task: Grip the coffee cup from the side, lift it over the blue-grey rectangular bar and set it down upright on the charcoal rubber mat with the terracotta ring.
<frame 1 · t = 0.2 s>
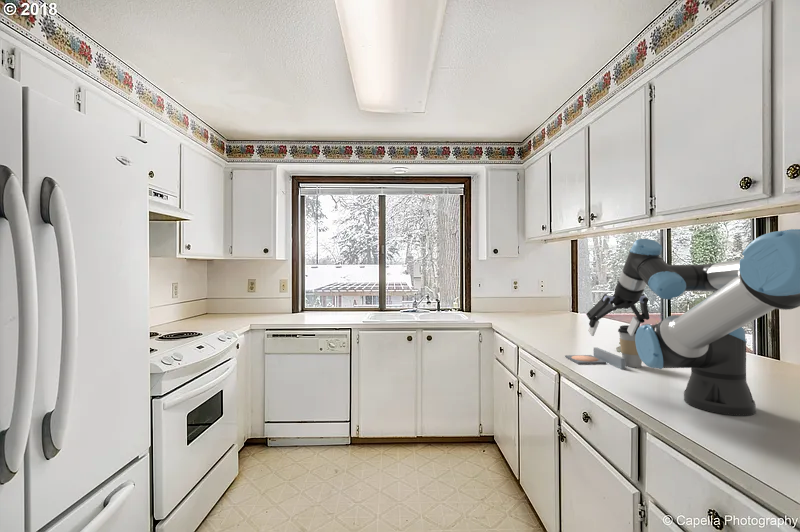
hand: (610, 333, 134), 15 cm above the worktop, tool tilted 35°, fingers open, 13 cm apart
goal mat: (584, 360, 157), on the worktop
toy dinosaur: (623, 349, 180), on the worktop
blue-grey rectangular bar: (608, 362, 153), on the worktop
coffee cup: (632, 366, 148), on the worktop
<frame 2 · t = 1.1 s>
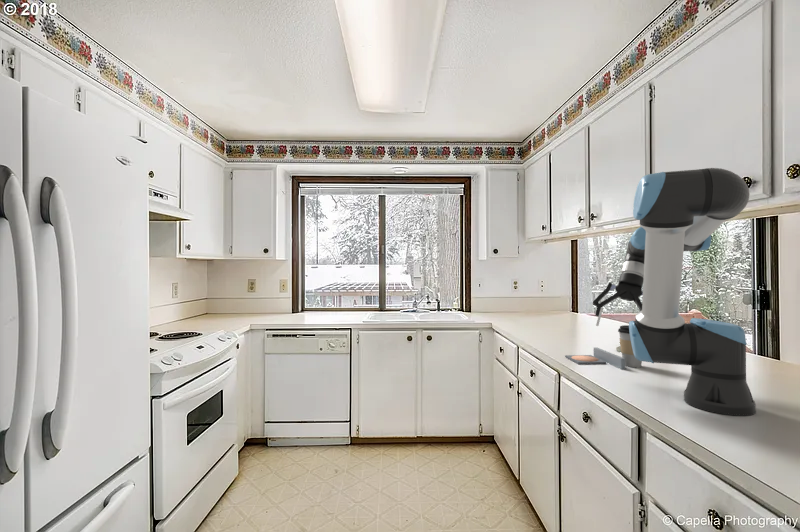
hand: (618, 331, 136), 15 cm above the worktop, tool tilted 25°, fingers open, 13 cm apart
nothing on the worktop moved.
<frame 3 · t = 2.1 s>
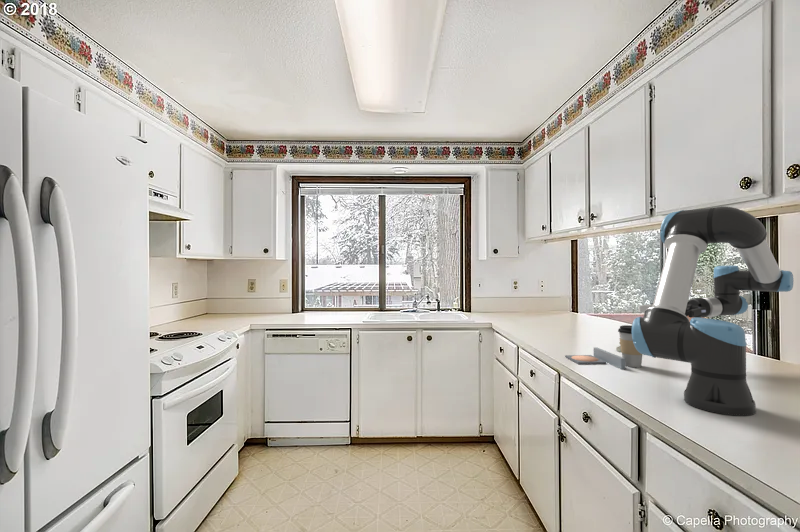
hand: (651, 311, 148), 21 cm above the worktop, tool horizontal, fingers open, 13 cm apart
nothing on the worktop moved.
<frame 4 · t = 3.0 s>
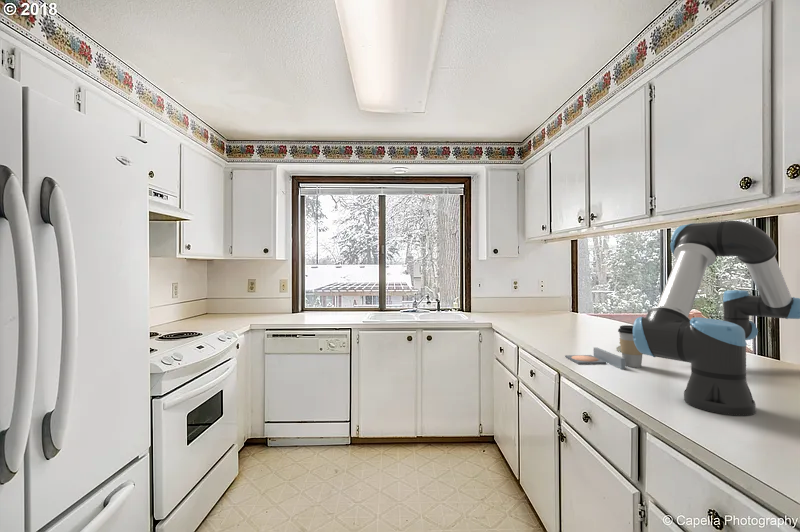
hand: (657, 332, 149), 13 cm above the worktop, tool horizontal, fingers open, 13 cm apart
nothing on the worktop moved.
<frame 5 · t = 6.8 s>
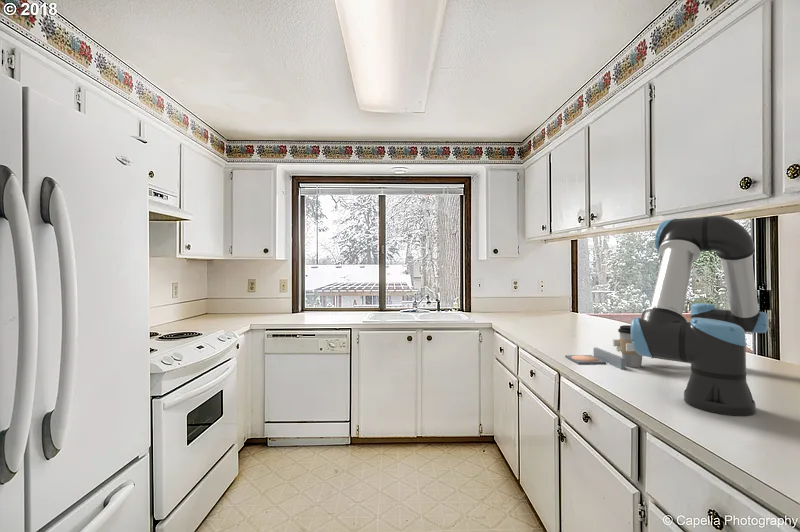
hand: (619, 345, 149), 8 cm above the worktop, tool horizontal, fingers closed on coffee cup, 8 cm apart
coffee cup: (632, 366, 148), on the worktop, touching gripper
when the fingers open (10 cm above the worktop, at t = 11.9 s): coffee cup drops 1 cm, resting on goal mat.
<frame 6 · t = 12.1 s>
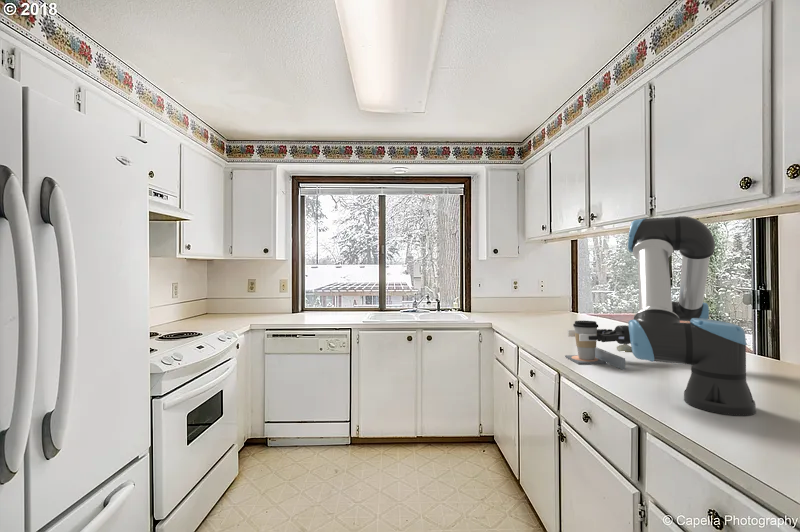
hand: (573, 335, 157), 10 cm above the worktop, tool horizontal, fingers open, 9 cm apart
toy dinosaur: (624, 348, 182), on the worktop
coffee cup: (586, 359, 156), point 1 cm above the worktop, touching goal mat, gripper
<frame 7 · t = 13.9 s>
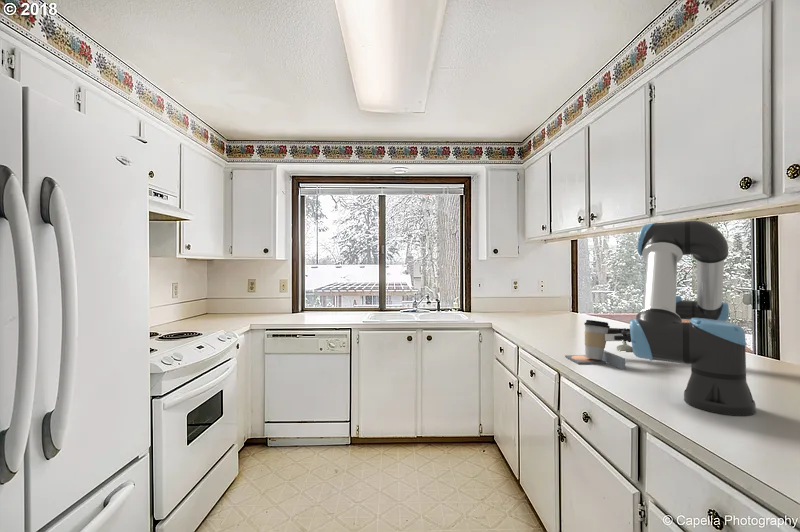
hand: (595, 334, 158), 11 cm above the worktop, tool horizontal, fingers open, 13 cm apart
coffee cup: (593, 359, 154), point 1 cm above the worktop, touching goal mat, gripper
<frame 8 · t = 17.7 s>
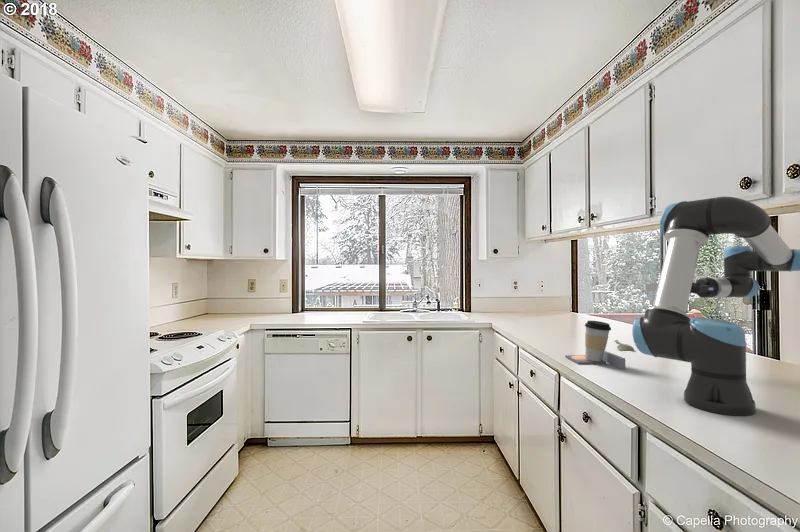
hand: (656, 288, 146), 30 cm above the worktop, tool horizontal, fingers open, 13 cm apart
toy dinosaur: (621, 348, 183), on the worktop
coffee cup: (593, 360, 154), point 1 cm above the worktop, touching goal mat
at the end: coffee cup inside the target area on the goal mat (3.9 cm from its centre), point 1.0 cm above the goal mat's base; coffee cup tilted 7°; the gripper is holding nothing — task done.
